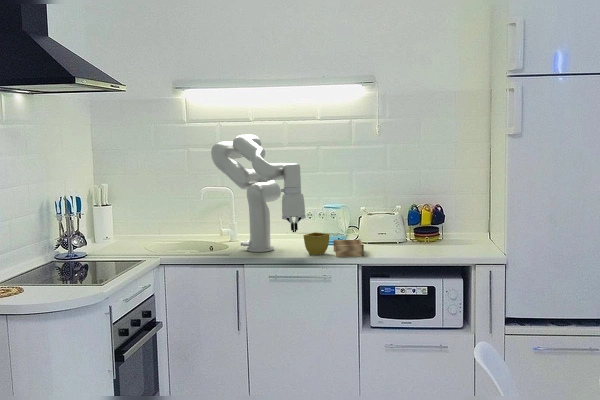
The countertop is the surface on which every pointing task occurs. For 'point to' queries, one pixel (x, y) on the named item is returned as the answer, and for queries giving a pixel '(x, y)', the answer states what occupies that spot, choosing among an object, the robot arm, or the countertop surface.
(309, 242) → the flower pot
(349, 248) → the frame
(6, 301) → the countertop surface
